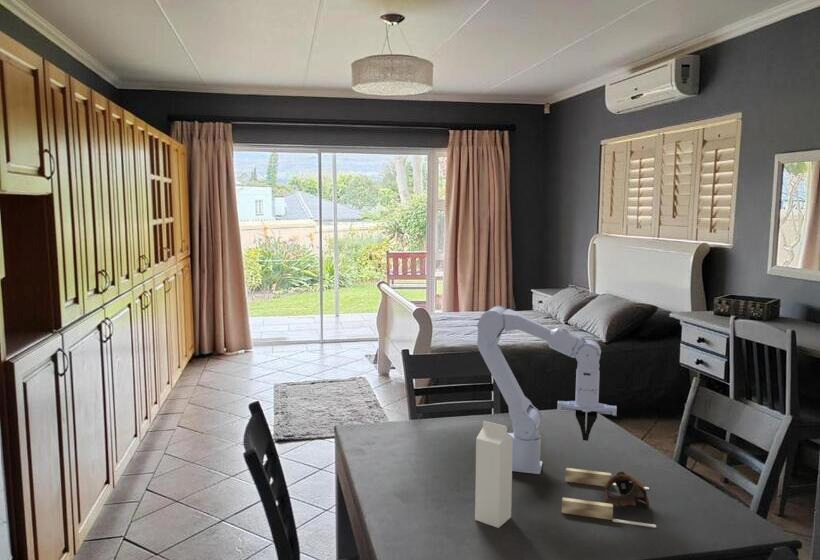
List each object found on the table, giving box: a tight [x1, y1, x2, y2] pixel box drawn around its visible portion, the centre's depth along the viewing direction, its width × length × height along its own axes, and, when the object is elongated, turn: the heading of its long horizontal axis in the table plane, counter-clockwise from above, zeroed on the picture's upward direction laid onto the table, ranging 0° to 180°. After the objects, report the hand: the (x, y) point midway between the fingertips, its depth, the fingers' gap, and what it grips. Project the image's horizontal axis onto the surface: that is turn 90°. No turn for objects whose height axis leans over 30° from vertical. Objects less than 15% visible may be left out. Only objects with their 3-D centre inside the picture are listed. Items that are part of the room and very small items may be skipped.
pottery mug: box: [604, 470, 650, 510], centre depth 143 cm, size 12×10×8 cm
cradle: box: [561, 467, 614, 521], centre depth 146 cm, size 11×18×3 cm, turn 163°
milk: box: [474, 420, 513, 529], centre depth 135 cm, size 6×6×22 cm
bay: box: [611, 483, 657, 528], centre depth 143 cm, size 9×20×1 cm, turn 163°
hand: (585, 439), depth 157 cm, fingers closed
